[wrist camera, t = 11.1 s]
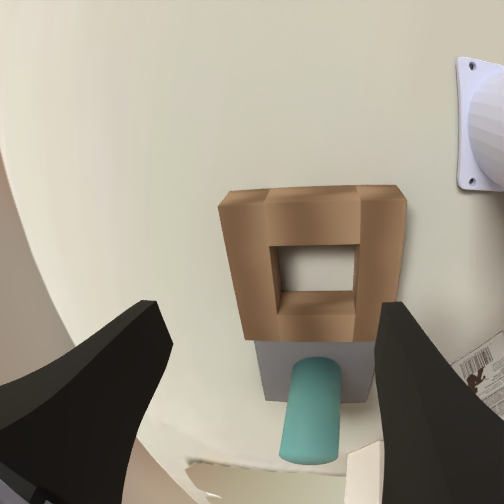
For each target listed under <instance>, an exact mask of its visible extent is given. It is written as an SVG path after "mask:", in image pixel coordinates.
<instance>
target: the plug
mask: <svg viewBox="0 0 504 504" xmlns="http://www.w3.org/2000/svg"><path fill="white" fill-rule="evenodd" d="M340 400H341V369H340V367H339V365H338V364H337V363H336V362H334V361H333V360H331V359H328V358H323V357H310V358H305V359H302V360H300V361H298V362H297V363H296V364H295V365H294V366H293V368H292V375H291V382H290V389H289V396H288V403H287V409H286V415H285V422H284V428H283V434H282V440H281V446H280V451H279V456H280V457H281V458H282V459H284V460H286V461H288V462H291V463H295V464H302V465H320V464H326V463H330V462H332V461H334V460H336V459H337V458H338V449H339V430H340Z"/></svg>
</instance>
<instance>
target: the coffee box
mask: <svg viewBox="0 0 504 504" xmlns="http://www.w3.org/2000/svg"><path fill="white" fill-rule="evenodd" d="M451 367H452V368H453V369H454V370H455V372H456V373H457V374H458V375H459V376H460V378H461V379H462V380H463V381H464V382H465V383H466V384H467V385H468V387H469V388H470V389H471V390H472V391H473V392H474V393H475V394H476V395H477V396H478V397H479V398H480V399H481V400H482V401H483V402H484V403H485V404H486V405H487V406H488V407H489V408H490V409H491V410H492V411H493V412H495V413H496V414H497V415H498V416H499V417H500V418H501V419H503V420H504V333H503V332H500V333H499V334H497V335H496V336H494V337H493V338H492V339H490V340H489V341H487V342H486V343H484V344H483V345H482V346H480V347H479V348H477V349H476V350H474V351H473V352H471V353H469V354H468V355H466V356H465V357H463V358H462V359H460V360H458V361H457V362H455V363H453V364H452V365H451Z"/></svg>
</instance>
